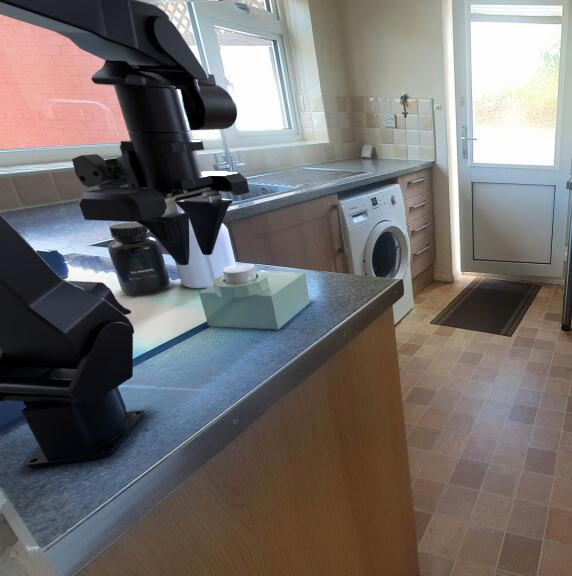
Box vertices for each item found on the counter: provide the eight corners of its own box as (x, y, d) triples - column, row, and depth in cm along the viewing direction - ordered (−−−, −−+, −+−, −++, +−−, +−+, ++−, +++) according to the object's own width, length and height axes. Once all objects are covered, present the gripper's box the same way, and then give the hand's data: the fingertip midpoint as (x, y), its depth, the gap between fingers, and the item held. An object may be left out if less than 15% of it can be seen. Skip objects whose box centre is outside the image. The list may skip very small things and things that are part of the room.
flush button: (246, 286, 60) (243, 273, 59) (219, 285, 60) (216, 272, 60) (262, 276, 64) (259, 264, 63) (237, 275, 64) (234, 263, 63)
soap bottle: (249, 275, 83) (220, 147, 73) (208, 291, 75) (170, 151, 65) (213, 269, 85) (181, 145, 75) (169, 285, 77) (127, 147, 67)
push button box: (273, 334, 62) (263, 288, 59) (201, 330, 62) (187, 284, 59) (310, 302, 72) (303, 262, 69) (248, 299, 72) (239, 259, 69)
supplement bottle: (144, 298, 71) (121, 231, 66) (112, 294, 72) (88, 228, 68) (181, 284, 77) (162, 222, 73) (151, 280, 78) (131, 219, 74)
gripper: (159, 127, 56) (189, 237, 62) (-5, 131, 39) (60, 283, 45) (239, 130, 56) (262, 240, 62) (110, 136, 38) (159, 288, 45)
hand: (195, 259), depth 53 cm, fingers open, 4 cm apart
